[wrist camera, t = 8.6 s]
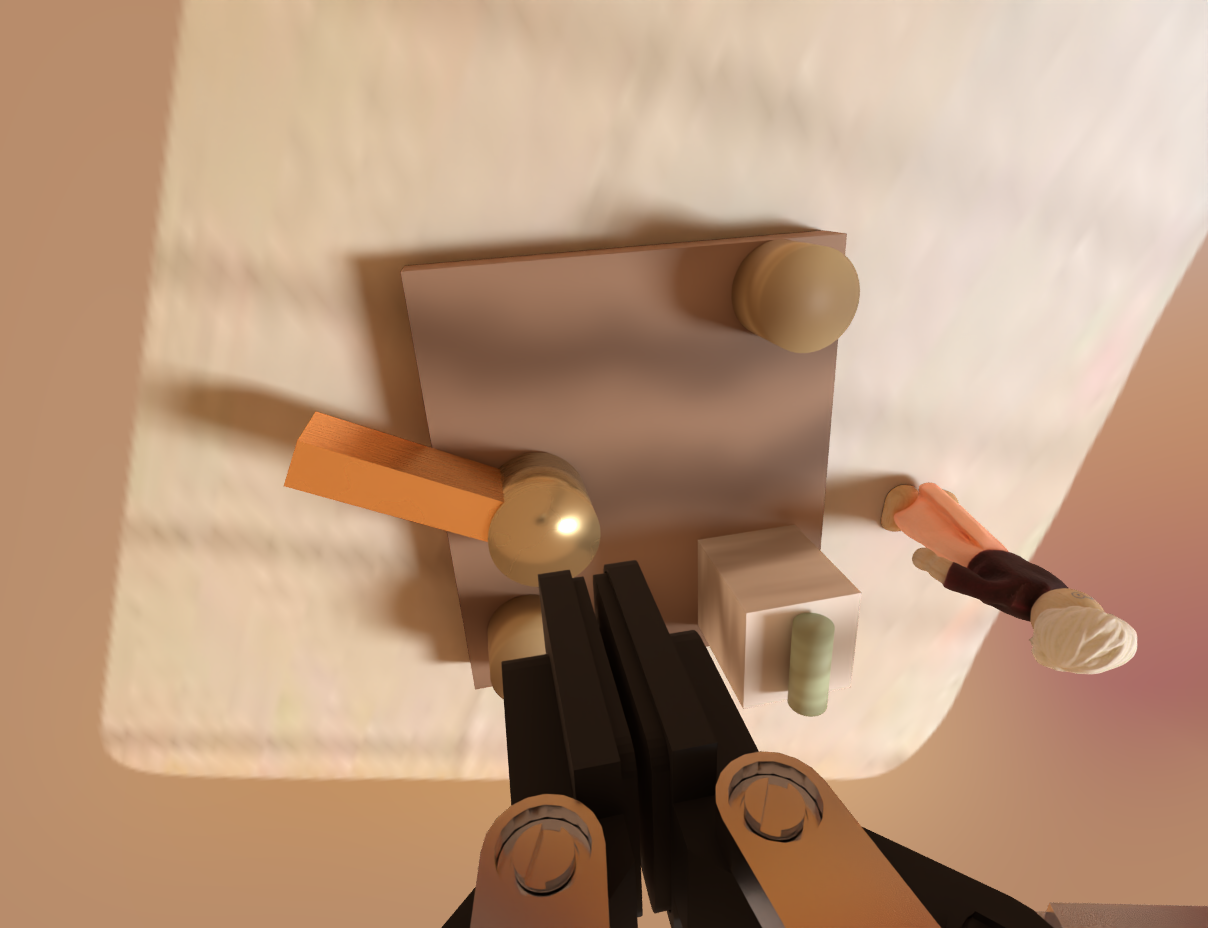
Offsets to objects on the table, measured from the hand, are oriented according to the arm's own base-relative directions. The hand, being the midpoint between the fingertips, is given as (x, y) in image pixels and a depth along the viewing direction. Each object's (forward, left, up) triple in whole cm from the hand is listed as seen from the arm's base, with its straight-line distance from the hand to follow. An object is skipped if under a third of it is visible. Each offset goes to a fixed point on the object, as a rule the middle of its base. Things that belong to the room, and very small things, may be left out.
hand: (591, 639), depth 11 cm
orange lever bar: (+4, -3, -17) cm, 18 cm away
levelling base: (+6, +5, -19) cm, 21 cm away
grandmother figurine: (+11, +20, -20) cm, 30 cm away
